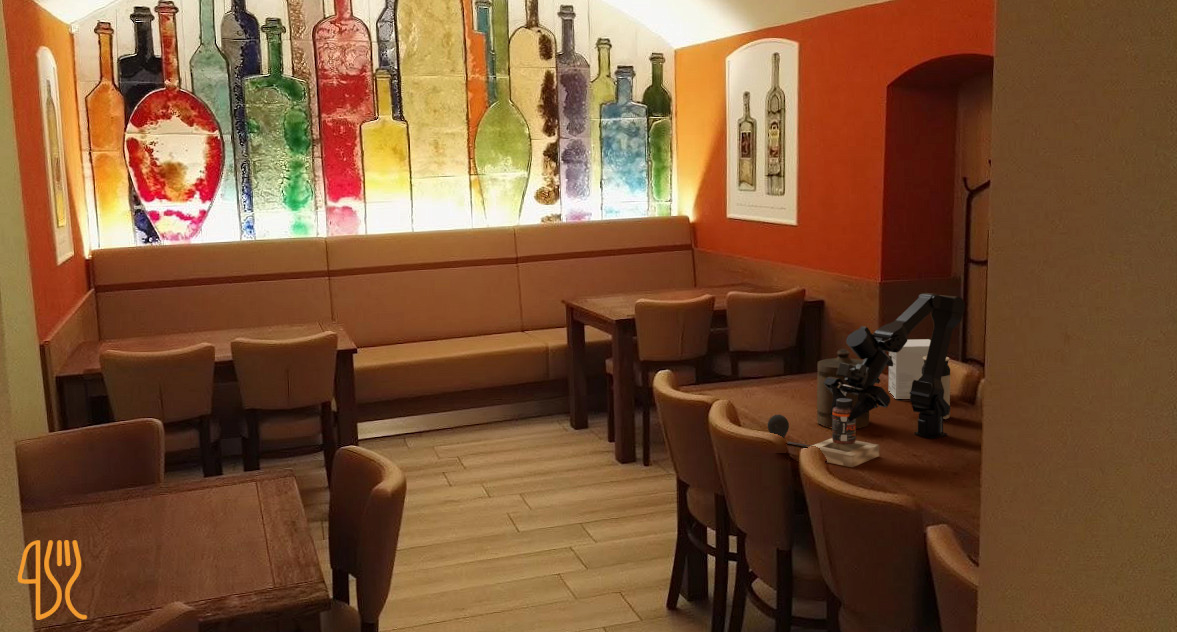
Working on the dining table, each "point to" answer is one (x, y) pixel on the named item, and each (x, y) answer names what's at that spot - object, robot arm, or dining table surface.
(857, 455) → the cream square shallow tray
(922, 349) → the supplement box
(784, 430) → the light bulb
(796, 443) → the dark grey rod
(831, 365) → the wooden container
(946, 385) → the travel mug
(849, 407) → the supplement bottle
